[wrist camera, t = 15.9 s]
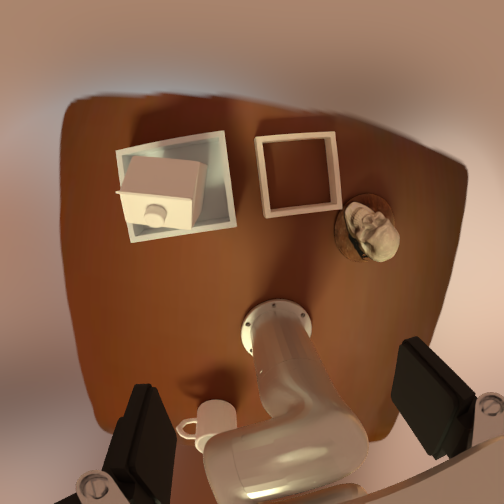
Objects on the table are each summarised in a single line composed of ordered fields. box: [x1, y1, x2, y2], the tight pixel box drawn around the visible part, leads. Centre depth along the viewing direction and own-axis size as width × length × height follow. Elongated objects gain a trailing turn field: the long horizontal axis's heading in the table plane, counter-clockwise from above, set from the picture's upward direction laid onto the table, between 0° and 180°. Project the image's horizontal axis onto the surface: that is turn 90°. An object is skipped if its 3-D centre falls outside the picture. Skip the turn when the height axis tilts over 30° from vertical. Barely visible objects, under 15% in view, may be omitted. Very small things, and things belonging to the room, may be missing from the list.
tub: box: [116, 130, 237, 243], centre depth 42 cm, size 13×15×6 cm
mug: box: [176, 400, 237, 453], centre depth 52 cm, size 8×12×10 cm, turn 75°
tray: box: [254, 131, 342, 218], centre depth 44 cm, size 12×12×3 cm
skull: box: [334, 193, 400, 262], centre depth 48 cm, size 12×10×10 cm
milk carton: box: [116, 156, 208, 230], centre depth 35 cm, size 7×7×19 cm
